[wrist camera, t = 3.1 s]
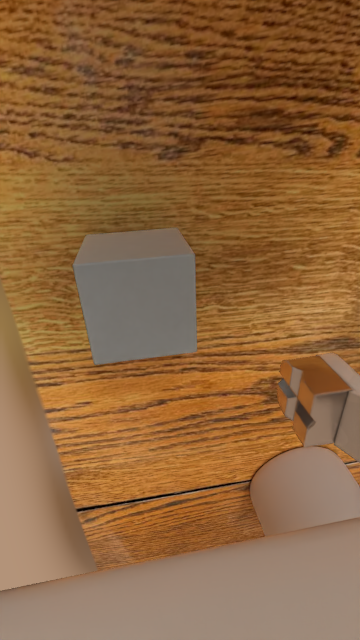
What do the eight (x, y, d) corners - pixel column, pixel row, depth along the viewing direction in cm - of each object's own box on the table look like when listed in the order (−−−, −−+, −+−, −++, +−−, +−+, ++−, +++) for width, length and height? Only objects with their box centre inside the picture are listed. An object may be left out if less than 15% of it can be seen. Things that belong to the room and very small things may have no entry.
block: (85, 234, 15) (71, 264, 11) (177, 227, 16) (195, 253, 12) (100, 316, 17) (93, 365, 13) (181, 307, 18) (197, 352, 14)
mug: (241, 463, 25) (312, 651, 16) (341, 432, 26) (470, 601, 16) (258, 535, 31) (316, 702, 22) (339, 510, 32) (431, 666, 22)
